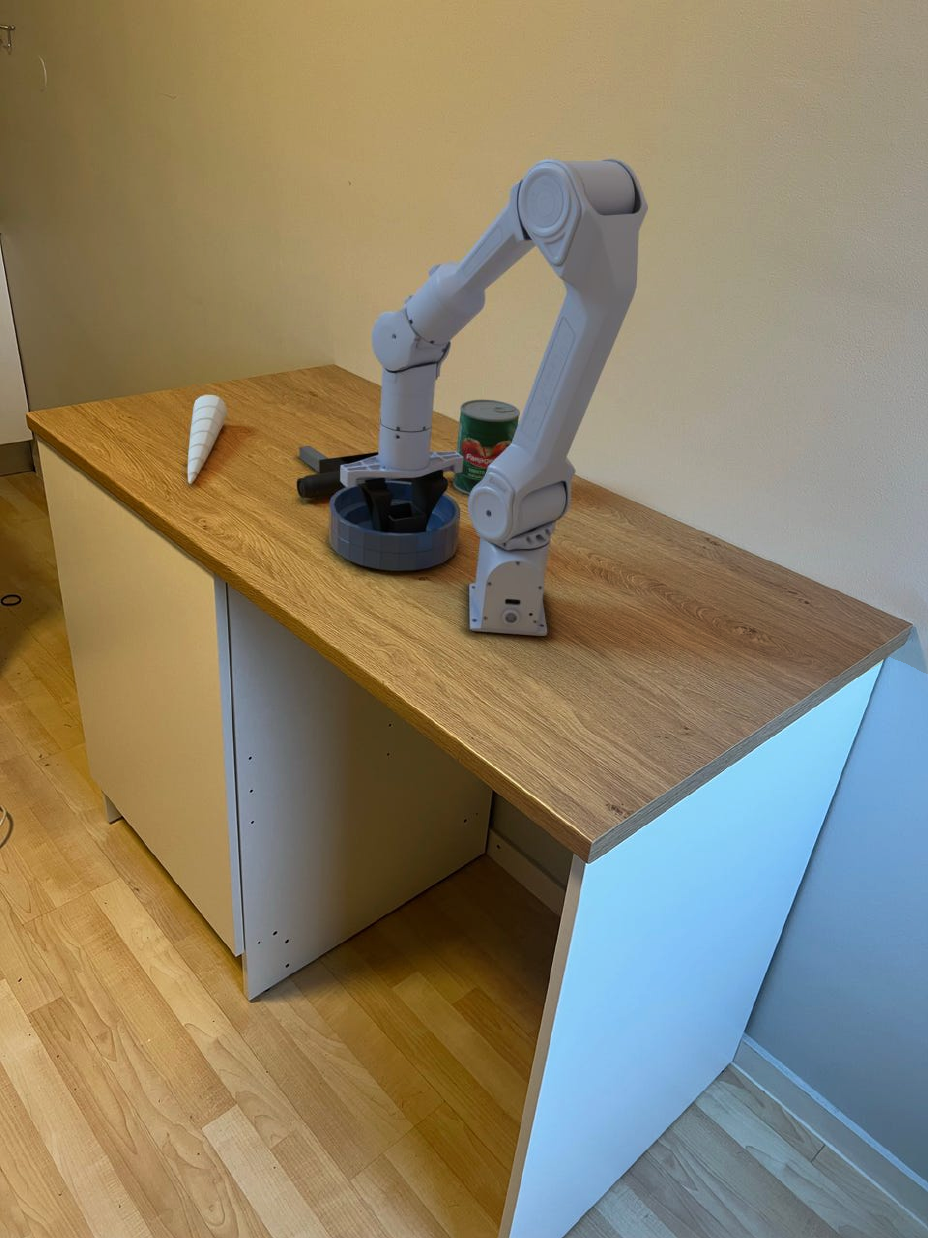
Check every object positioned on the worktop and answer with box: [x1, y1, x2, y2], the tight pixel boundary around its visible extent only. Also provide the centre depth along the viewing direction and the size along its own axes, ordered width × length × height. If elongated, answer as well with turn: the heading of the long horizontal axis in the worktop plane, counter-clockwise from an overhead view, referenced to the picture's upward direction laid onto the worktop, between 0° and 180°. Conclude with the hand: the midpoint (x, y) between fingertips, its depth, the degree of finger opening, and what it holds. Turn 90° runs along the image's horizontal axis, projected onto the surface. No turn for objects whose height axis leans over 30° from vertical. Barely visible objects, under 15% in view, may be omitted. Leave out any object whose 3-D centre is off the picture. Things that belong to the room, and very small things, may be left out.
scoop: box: [388, 501, 427, 534], centre depth 110 cm, size 8×4×5 cm, turn 30°
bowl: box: [327, 481, 461, 572], centre depth 110 cm, size 15×15×5 cm
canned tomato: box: [452, 399, 521, 496], centre depth 126 cm, size 8×8×11 cm
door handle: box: [296, 445, 411, 500], centre depth 127 cm, size 3×20×16 cm
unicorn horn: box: [187, 394, 228, 485], centre depth 128 cm, size 5×24×5 cm, turn 3°
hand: (399, 534), depth 109 cm, fingers closed on scoop, 4 cm apart
